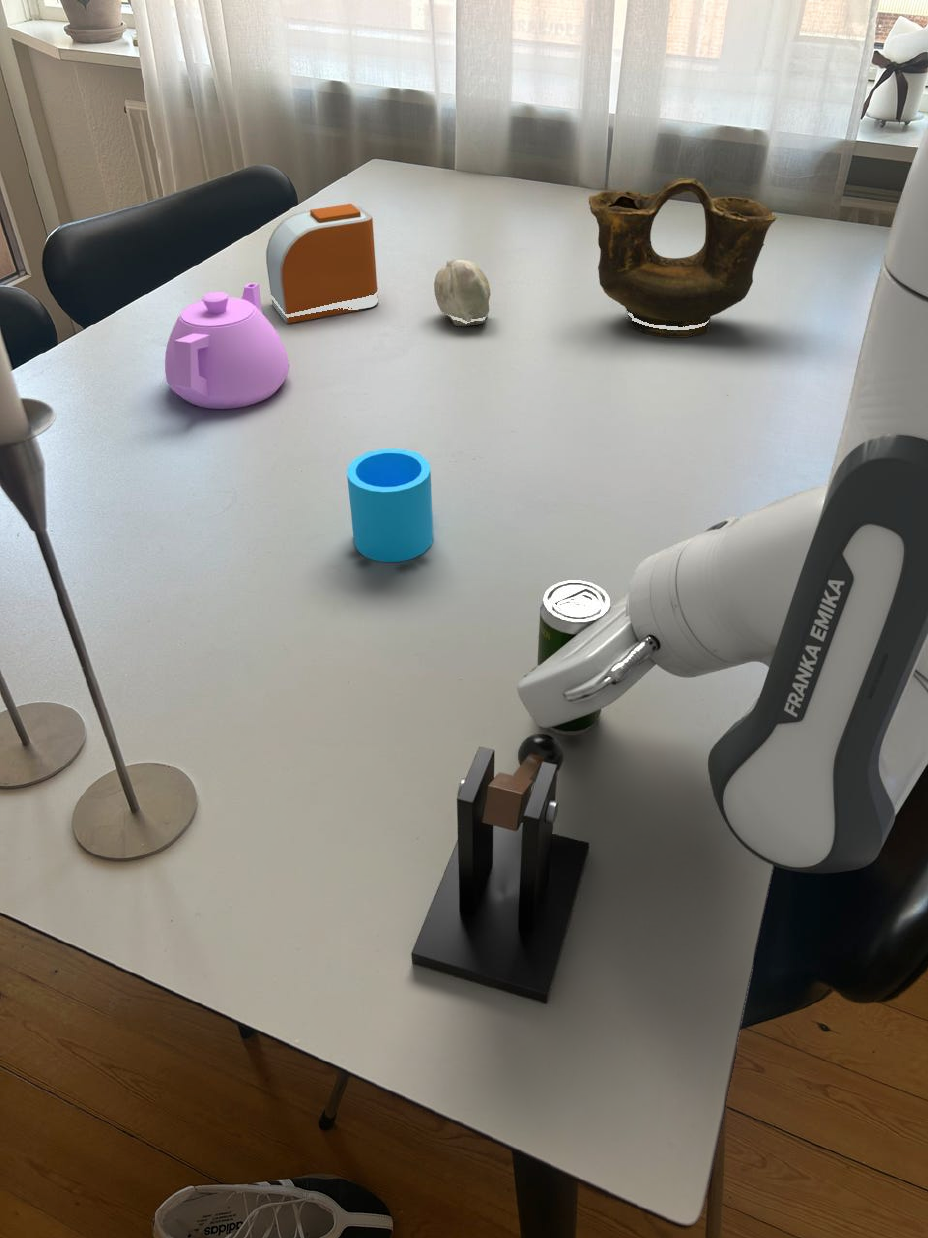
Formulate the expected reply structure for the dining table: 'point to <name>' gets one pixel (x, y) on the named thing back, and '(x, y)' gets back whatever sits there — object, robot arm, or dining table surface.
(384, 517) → the mug
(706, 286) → the pottery vessel
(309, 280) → the orange and white toaster
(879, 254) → the dining table surface
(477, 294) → the garlic bulb
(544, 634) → the green drink can
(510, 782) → the lever
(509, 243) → the dining table surface
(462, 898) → the bracket
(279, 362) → the teapot
